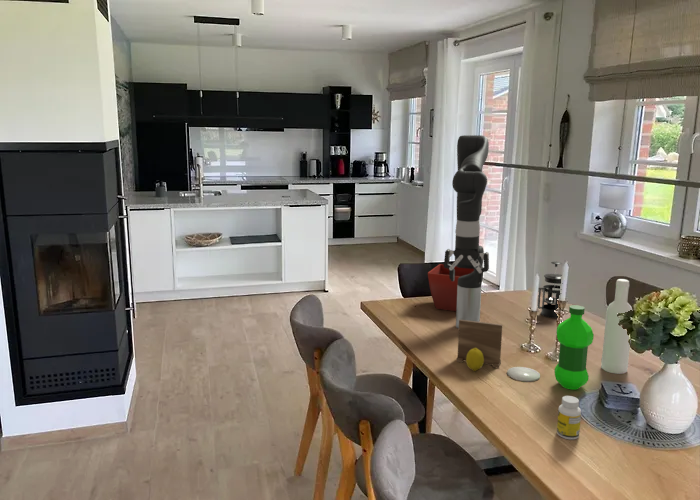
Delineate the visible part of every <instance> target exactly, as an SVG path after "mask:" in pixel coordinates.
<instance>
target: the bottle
mask: <svg viewBox="0 0 700 500" xmlns="http://www.w3.org/2000/svg"><path fill="white" fill-rule="evenodd" d="M629 289H630V280H628V279H625V278H618V279H617V280H616V282H615V293H614V294H615V295H614V300H613V301H612V302H610V303H609V304H608V307H607V309H606V313H605V323H604V333H603V334H604V336H603V344H602V352H601V353H602V355H601V365H600V368H601V369H602V370H603V371H605V372H606V373H611V374H614V375H615V374H616V375H617V374H618V375H623V374H625V373H628V368H629V357H630V350H631V349H630V348H631V345H630V346H629V343H628V339H629V336H628V335H627V331H626V330H625V329H623V328H622V327H621V326H619V325H618V323H619V319H620V318H618V317H617V313H625V312H628V311H630V310H632V311H633V308H632V306H631V304H630V303H629V302H628V296H629Z"/></svg>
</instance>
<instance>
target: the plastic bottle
mask: <svg viewBox="0 0 700 500" xmlns="http://www.w3.org/2000/svg"><path fill="white" fill-rule="evenodd" d="M568 308H569V309H568V313H569V314H570V317H569V318H566V319H565V320H564V321H562V322H560V323H559V324H558V325H557V327H556V338H557V341H558V342H559V349H558V350H559V351H558V363H557V364H556V366H555V367H554V377H555V380H556V381H557V383H558V384H559V385H560V386H561V387H563V388H564V389H566V390H572V391H573V390H574V391H575V390H578V389H580V388H581V387H583V386H585V385H586V384H587V383H588V382H589V373H588V370H587V361H588V360H587V359H588V350H589V346H590V345H592V343H593V341H594V332H593V328H592V327H591V326H590V325H589V324H588V322H586V321H585V320H584V319H583V315H585V311H586V310H585V306H582V305H577V304H575V305H574V304H572V305H569V306H568Z"/></svg>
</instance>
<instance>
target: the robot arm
mask: <svg viewBox="0 0 700 500" xmlns="http://www.w3.org/2000/svg"><path fill="white" fill-rule="evenodd" d="M456 144H457V145H456V149H457V150H456V157H457V160H456V161H457V164H456V165H457V171H456V172H454V173H455V174H454V175H453V177H452V182H451V183H452V184H451V186H452V188H453V191H454V192H456V225H455V231H454V232H455V247H454V250H451V249H450V248H447V249H446V250H445V251H444V259H443V260H444V262H443V264H444V268H447V269H449V271H450V272H449V278H450V279H451V281H454V279H455V269H454V268H455V266H457V267H458V268H467V269H474V271H473V272H472V273H470V274H468V275H464V276H461V277H459V278H458V285H457V309H456V311H455V313H456V314H455V327H456V328H457V330H459V320H460V319H461V320H469V321H477V322H481V306H482V305H481V301H482V286H483V285H482V282H483V281H484V280H483V279H484V277H483V276H484V273H487V272H488V271H489V270H490V260H489V259H490V254H489V252H488V251H486V252H485V251H484V248H483V246H482V245H480V229H481V225H480V216H482V212H483V207H482V206H483V195H484V193H485V190H486V188H487V185H488V178H487V175H486V173H484V171H483V167H484V165H485V163H486V161H487V158H488V155H489V139H488V137H487V136H485V135H480V134H479V135H477V134H476V135H475V134H473V135H469V134H468V135H467V134H466V135H463V134H462V135H460V136H459V137H458V138H457V143H456ZM452 256H454V262H453V263H452V264H451V263H450V259H451V257H452Z"/></svg>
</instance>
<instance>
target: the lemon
mask: <svg viewBox="0 0 700 500" xmlns="http://www.w3.org/2000/svg"><path fill="white" fill-rule="evenodd" d="M465 362H466V366H467V367H468V368H469V369H470V370H472V371H473V372H476V371H478V370H480V369H481V368H482V367H483V366H484V364H483V363H484V357H483V353H482V352H481V351H480V350H479V349H477V348H474V349H471V350H470V351H469V352H468V353H467V357H466V361H465Z"/></svg>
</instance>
